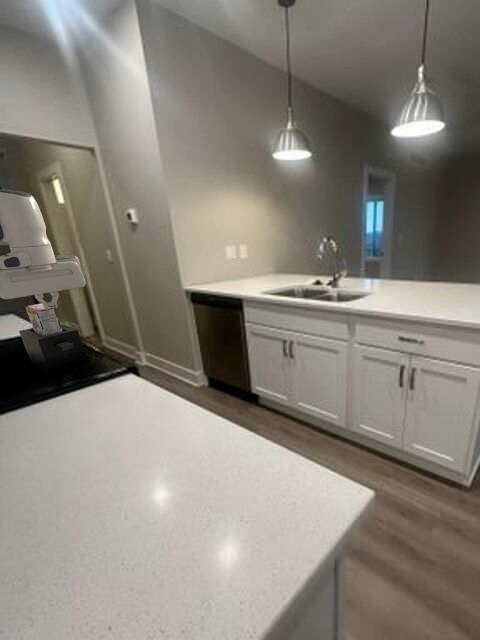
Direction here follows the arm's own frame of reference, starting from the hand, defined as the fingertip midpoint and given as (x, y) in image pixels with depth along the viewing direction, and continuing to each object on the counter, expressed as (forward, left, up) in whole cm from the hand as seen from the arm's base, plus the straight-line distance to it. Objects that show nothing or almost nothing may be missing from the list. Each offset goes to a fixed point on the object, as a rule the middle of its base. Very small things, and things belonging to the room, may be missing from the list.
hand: (51, 308), depth 96 cm
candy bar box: (0, +11, -17) cm, 21 cm away
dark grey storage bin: (0, +11, -19) cm, 22 cm away
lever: (0, 0, -12) cm, 12 cm away
